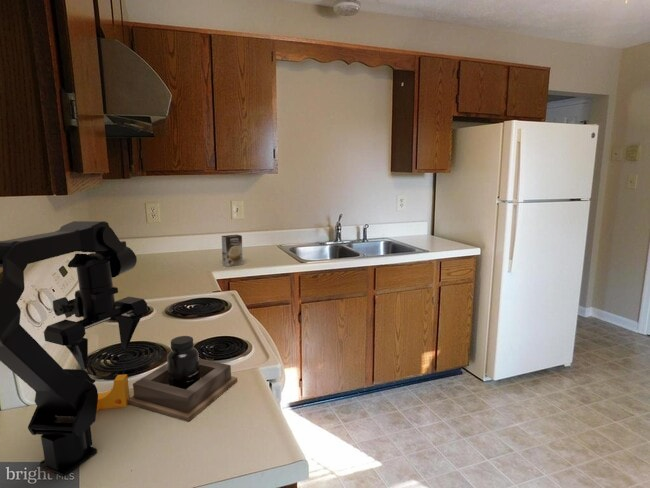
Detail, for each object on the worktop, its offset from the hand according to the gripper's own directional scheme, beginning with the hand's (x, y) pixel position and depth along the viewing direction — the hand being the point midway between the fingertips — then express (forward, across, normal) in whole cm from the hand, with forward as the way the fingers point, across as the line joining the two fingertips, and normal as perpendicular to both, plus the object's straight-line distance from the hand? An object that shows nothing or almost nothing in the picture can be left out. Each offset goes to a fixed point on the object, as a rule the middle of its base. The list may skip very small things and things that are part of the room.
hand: (105, 358), depth 81 cm
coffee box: (+15, -121, -58) cm, 135 cm away
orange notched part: (+14, 0, -5) cm, 15 cm away
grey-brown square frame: (+13, -13, +8) cm, 20 cm away
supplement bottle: (+12, -13, +8) cm, 19 cm away
